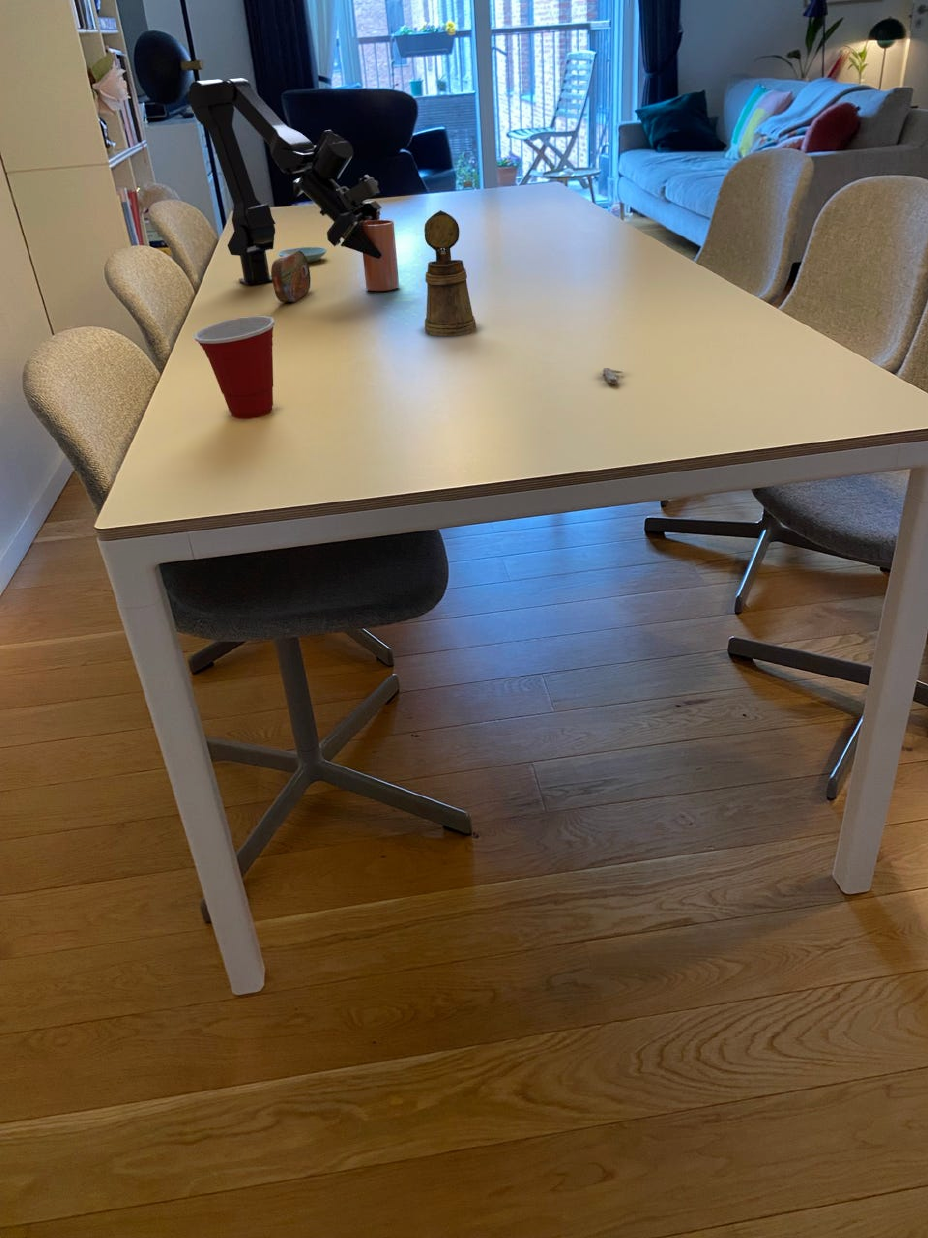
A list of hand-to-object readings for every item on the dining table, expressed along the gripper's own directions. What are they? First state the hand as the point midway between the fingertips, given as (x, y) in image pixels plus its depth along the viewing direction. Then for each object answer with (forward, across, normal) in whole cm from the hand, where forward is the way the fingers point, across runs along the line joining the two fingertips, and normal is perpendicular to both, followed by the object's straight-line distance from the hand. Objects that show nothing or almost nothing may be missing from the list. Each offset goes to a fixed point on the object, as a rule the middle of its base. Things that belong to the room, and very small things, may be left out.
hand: (385, 253), depth 184 cm
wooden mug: (+20, -29, -10) cm, 36 cm away
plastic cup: (+8, -74, +2) cm, 75 cm away
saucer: (-17, +30, +28) cm, 45 cm away
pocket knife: (+41, -57, -33) cm, 78 cm away
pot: (+4, 0, +6) cm, 7 cm away
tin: (-8, -7, +18) cm, 21 cm away
